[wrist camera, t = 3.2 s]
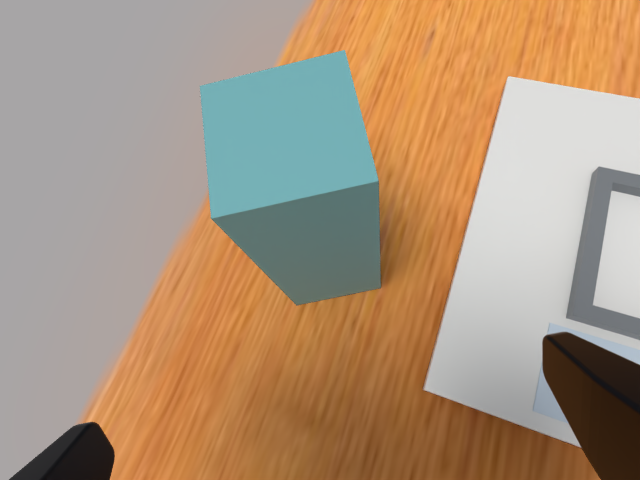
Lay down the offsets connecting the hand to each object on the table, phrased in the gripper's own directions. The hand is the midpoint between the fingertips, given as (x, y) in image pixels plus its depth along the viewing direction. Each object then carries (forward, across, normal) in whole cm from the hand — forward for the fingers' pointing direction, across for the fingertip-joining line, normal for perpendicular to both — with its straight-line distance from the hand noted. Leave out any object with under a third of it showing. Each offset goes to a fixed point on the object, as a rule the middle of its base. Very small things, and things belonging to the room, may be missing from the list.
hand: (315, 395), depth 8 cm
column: (+16, 0, +5) cm, 17 cm away
